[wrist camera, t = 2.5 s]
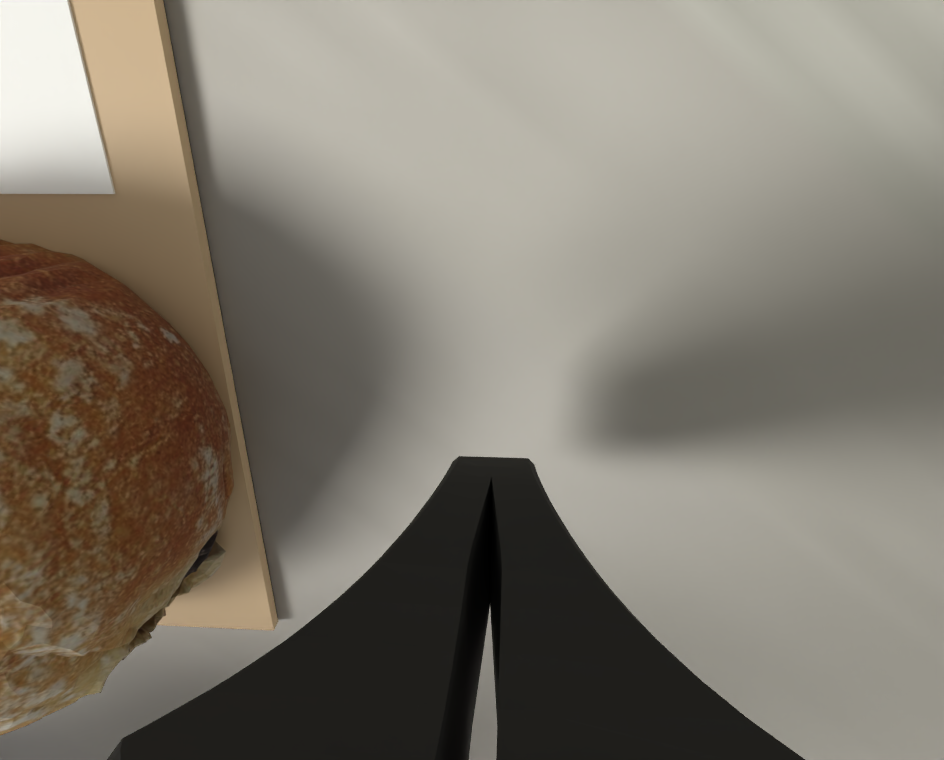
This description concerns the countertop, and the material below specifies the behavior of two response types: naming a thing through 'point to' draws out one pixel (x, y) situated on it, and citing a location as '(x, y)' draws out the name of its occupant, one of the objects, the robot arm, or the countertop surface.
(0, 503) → the bread roll
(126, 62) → the envelope
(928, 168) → the countertop surface
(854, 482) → the countertop surface
